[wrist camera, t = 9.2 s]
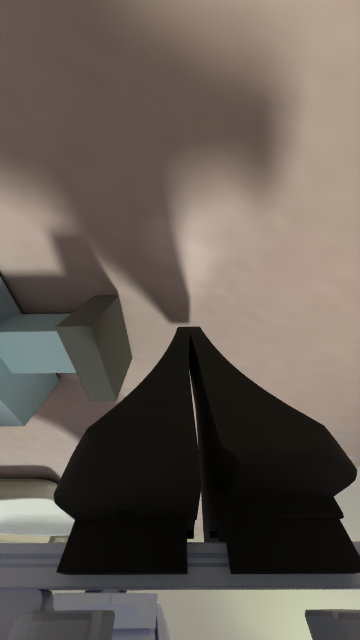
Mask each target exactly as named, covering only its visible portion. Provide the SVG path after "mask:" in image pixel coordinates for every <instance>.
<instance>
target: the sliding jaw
mask: <svg viewBox="0 0 360 640" xmlns="http://www.w3.org/2000/svg"><path fill="white" fill-rule="evenodd" d="M131 360H132V355H131V350H130V345H129V341H128V336H127V332H126V327H125V322H124V318H123V313H122V309H121V304H120V299H119V296H94V297H93V298H91V299H90V300H89V301H87V302H86V303H85V304H83V305H82V306H81V307H80V308H78V309H77V310H76V311H74V312H73V313H72V314H21V312H20V310H19V308H18V307H17V305H16V303H15V301H14V300H13V298H12V296H11V294H10V293H9V291H8V289H7V287H6V286H5V284H4V282H3V280H2V279H1V277H0V426H25V425H26V424H27V422H28V421H29V420H30V419H31V417H32V416H33V415H34V414H35V412H36V411H37V410H38V408H39V407H40V406H41V405H42V403H43V402H44V401H45V400H46V398H47V397H48V396H49V395H50V393H51V392H52V391H53V390H54V388H55V387H56V386H57V385H58V383H59V382H60V381H59V379H58V377H57V375H56V374H55V373H77V375H78V377H79V379H80V382H81V384H82V386H83V388H84V390H85V392H86V394H87V396H88V398H89V401H116V400H117V398H118V395H119V392H120V390H121V387H122V384H123V381H124V379H125V376H126V373H127V371H128V368H129V365H130V363H131Z"/></svg>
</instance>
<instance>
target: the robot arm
mask: <svg viewBox="0 0 360 640" xmlns="http://www.w3.org/2000/svg"><path fill="white" fill-rule="evenodd" d="M189 370H190V373H189ZM190 376H191V382H192V388H193V395H194V401H195V408H196V420H197V434H198V442H197V435H196V427H195V419H194V411H193V402H192V393H191V383H190ZM198 449H199V450H198ZM356 476H357V469H356V468H355V466H354V464H353V463H352V462H351V460H350V459H349V458H348V456H347V455H346V453H345V452H344V451H343V449H342V448H341V447H340V445H339V444H338V442H337V441H336V440H335V439H334V437H333V436H332V435H331V434H330V432H329V431H328V430H327V429H326V427H325V426H324V425H322V424H320V423H319V422H317V421H315V420H313V419H312V418H310V417H308V416H306V415H305V414H303V413H301V412H299V411H298V410H296V409H294V408H292V407H291V406H289V405H287V404H286V403H284V402H282V401H281V400H279V399H278V398H276V397H275V396H273V395H272V394H270V393H268V392H267V391H266V390H264V389H263V388H261V387H260V386H258V385H257V384H256V383H254V382H253V381H252V380H250V379H249V378H248V377H246V376H245V375H244V374H242V373H241V372H240V371H239V370H238V369H236V368H235V367H234V366H233V365H232V364H231V363H230V362H229V361H228V360H227V359H226V358H225V357H224V356H223V355H222V354H221V353H220V352H219V351H218V350H217V349H216V348H215V346H214V345H213V344H212V343H211V342H210V340H209V339H208V338H207V337H206V335H205V334H204V332H203V331H202V329H201V328H200V327H178V328H177V331H176V333H175V336H174V338H173V340H172V342H171V344H170V345H169V347H168V349H167V350H166V352H165V353H164V355H163V356H162V358H161V359H160V361H159V362H158V363H157V365H156V366H155V367H154V368H153V370H152V371H151V372H150V373H149V374H148V375H147V376H146V378H145V379H144V380H143V381H142V382H141V383H140V384H139V385H138V386H137V387H136V388H135V389H134V390H133V391H132V392H131V393H130V394H128V395H127V396H126V397H125V398H124V399H123V400H122V401H121V402H120V403H119V404H117V405H116V406H115V407H114V408H113V409H111V410H110V411H109V412H108V413H106V414H105V415H104V416H103V417H101V418H100V419H99V420H98V421H96V422H95V423H94V424H93V425H91V426H90V427H89V428H87V430H86V432H85V433H84V435H83V437H82V439H81V440H80V442H79V444H78V445H77V447H76V449H75V451H74V452H73V454H72V456H71V458H70V460H69V462H68V465H67V467H66V469H65V471H64V473H63V475H62V477H61V479H60V481H59V483H58V485H57V487H56V490H55V492H54V502H55V504H56V505H57V506H58V507H59V508H60V509H61V510H63V511H64V512H65V513H67V514H68V515H69V516H71V517H72V518H73V519H75V521H74V524H73V527H72V529H71V532H70V535H69V538H68V541H67V543H0V640H170V639H169V631H168V626H167V623H166V620H165V617H164V614H163V611H162V607H161V606H160V604H158V603H157V594H150V593H149V594H148V593H126V592H127V590H240V589H241V590H244V589H246V590H250V589H251V590H254V589H255V590H257V589H258V590H260V589H261V590H266V589H267V590H269V589H270V590H275V589H277V590H278V589H360V542H352V541H351V539H350V538H349V536H348V534H347V532H346V530H345V528H344V527H343V525H342V523H341V521H340V519H342V518H344V516H343V512H342V511H341V509H340V507H339V506H338V504H337V502H336V500H335V499H334V496H335V495H336V494H338V493H339V492H341V491H342V490H343V489H345V488H346V487H348V486H349V485H350V484H351V483H353V482H354V481H355V479H356ZM200 493H201V497H202V514H203V531H204V542H197V543H196V542H193V543H192V542H187V539H194V525H195V520H197V514H198V507H199V500H200ZM49 590H85V593H54V596H53V594H52V591H49ZM305 617H306V621H307V624H308V627H309V630H310V633H311V636H312V639H313V640H360V610H344V609H325V610H306V611H305Z"/></svg>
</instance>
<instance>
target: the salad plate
mask: <svg viewBox="0 0 360 640" xmlns="http://www.w3.org/2000/svg"><path fill="white" fill-rule="evenodd" d="M57 485H58V484H56V483H55V482H53V481H50V480H45V479H0V534H9V535H28V536H63V535H70V532H71V529H72V527H73V524H74V521H75V519H73V518H72V517H71V516H69V515H68V514H67V513H65V512H64V511H63V510H61V509H60V508H59V507H58V506H57V505H56V504H55V502H54V492H55V490H56V487H57Z"/></svg>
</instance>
